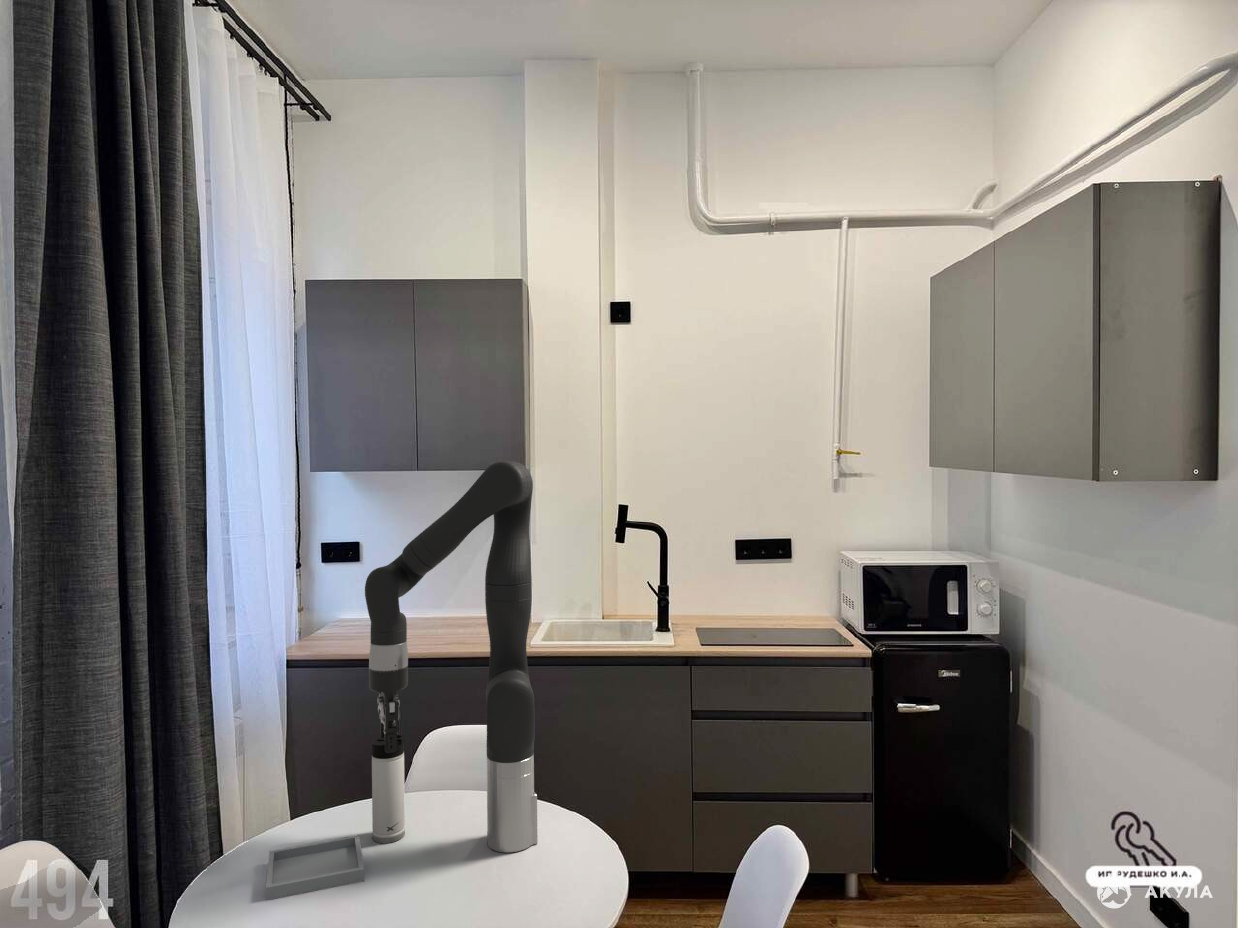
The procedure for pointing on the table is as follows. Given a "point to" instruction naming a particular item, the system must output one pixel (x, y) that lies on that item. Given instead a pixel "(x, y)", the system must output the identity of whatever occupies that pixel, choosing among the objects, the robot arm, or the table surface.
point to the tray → (314, 867)
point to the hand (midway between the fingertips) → (388, 744)
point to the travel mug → (388, 792)
